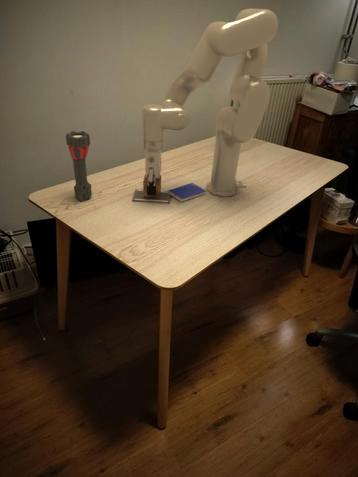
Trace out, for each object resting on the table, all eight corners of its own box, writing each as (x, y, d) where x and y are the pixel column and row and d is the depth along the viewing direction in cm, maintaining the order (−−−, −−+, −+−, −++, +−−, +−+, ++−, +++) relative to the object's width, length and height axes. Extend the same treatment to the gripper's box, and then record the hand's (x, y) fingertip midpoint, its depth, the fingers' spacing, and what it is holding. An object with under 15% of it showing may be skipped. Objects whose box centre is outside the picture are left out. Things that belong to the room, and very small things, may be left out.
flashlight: (88, 189, 126) (81, 128, 113) (99, 196, 122) (93, 134, 109) (69, 194, 122) (60, 132, 109) (80, 202, 117) (72, 139, 104)
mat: (171, 192, 128) (171, 191, 128) (170, 203, 121) (170, 202, 120) (135, 190, 128) (135, 189, 128) (132, 201, 120) (132, 200, 120)
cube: (160, 189, 126) (161, 175, 122) (159, 197, 121) (160, 182, 117) (145, 188, 126) (145, 174, 122) (143, 196, 121) (143, 181, 117)
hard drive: (191, 182, 133) (167, 189, 125) (206, 190, 128) (181, 198, 121) (191, 185, 133) (167, 193, 126) (205, 193, 129) (181, 202, 122)
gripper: (162, 153, 106) (160, 202, 116) (165, 136, 120) (163, 181, 130) (138, 151, 105) (139, 201, 116) (145, 135, 120) (145, 180, 130)
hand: (152, 190), depth 123 cm, fingers closed on cube, 5 cm apart
